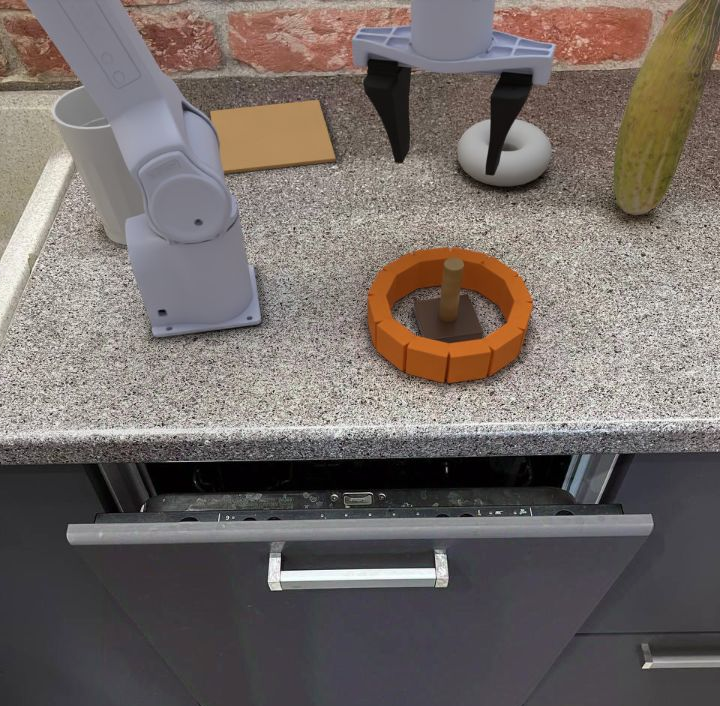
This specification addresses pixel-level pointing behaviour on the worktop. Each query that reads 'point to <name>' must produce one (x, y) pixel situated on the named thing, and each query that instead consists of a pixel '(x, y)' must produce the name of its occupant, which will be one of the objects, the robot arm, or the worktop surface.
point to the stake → (448, 310)
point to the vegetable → (664, 105)
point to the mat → (272, 136)
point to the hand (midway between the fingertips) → (446, 162)
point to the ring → (435, 355)
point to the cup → (98, 161)
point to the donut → (505, 154)
